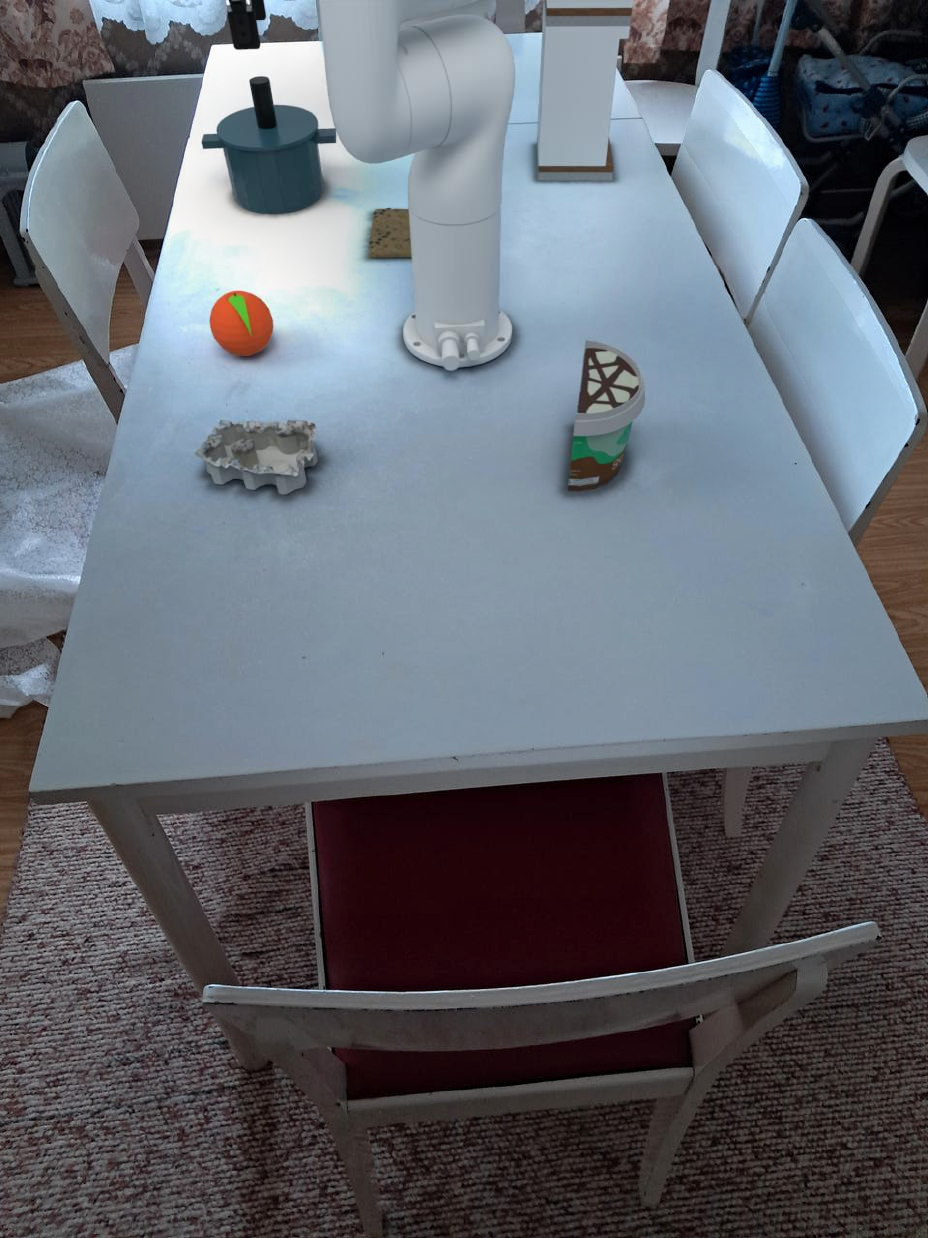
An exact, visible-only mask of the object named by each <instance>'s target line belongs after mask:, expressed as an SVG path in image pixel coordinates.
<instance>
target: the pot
mask: <svg viewBox="0 0 928 1238" xmlns="http://www.w3.org/2000/svg"><path fill="white" fill-rule="evenodd" d="M337 136H338V134H337V132H336V129H335V127H332V128H330V127H329V128H318V130H317V132H316V133H315V134H314V135H313V136H312V137H311V138H310V139H308V140H307V141H305V142H303V143H300V144H298V145H295V146H292V147H289V148H285V149H279V150H272V151H246V150H240V149H236V148H232V147H230V146H228V145H226V144H224V143H223V142H221V141H220V140H219V138H218V136H217V133H203V134H202V138H201V146H202V149H203V150H211V149H212V150H213V149H215V150H216V149H223V154H224V159H225V163H226V167H227V172H228V177H229V181H230V184H231V186H230V187H231V189H232V195H233V197H234V199H235V202H236V203H237V204H238V206H240V207H241V208H243V209H244V210H247V211H250V212H253V213H257V214H258V213H259V214H263V215H280V214H282V215H283V214H288V213H294V212H297V211H301V210H303V209H306V208H308V207H310V206H312V205H313V204H315V203H317V202H318V201H319V200H320V199H321V197H323V194H324V178H323V177H324V176H323V171H322V162H321V155H320V149H319V145H321V144H323V145H324V144H325V145H327V144H337Z"/></svg>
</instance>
